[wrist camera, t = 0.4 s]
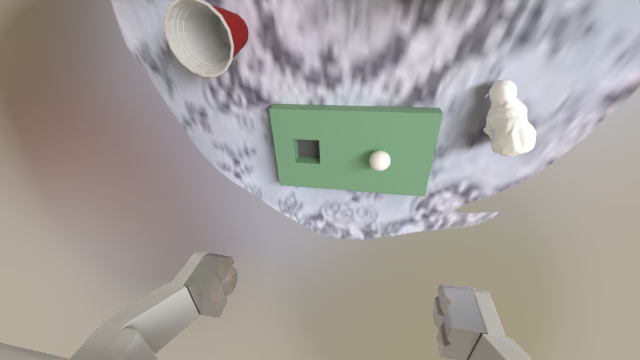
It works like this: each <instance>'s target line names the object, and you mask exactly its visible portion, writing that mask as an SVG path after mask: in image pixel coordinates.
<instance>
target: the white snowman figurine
mask: <svg viewBox="0 0 640 360" xmlns="http://www.w3.org/2000/svg"><path fill="white" fill-rule="evenodd" d="M517 88H518V87H517ZM517 88H516V86H515V84H514V83H513V82H511V81H509V80H499V81H497V82H496V83H494V84H493V86H492V87H491V89H490V91H489V93H488V94H487V95H486V96H485V97H486V98H487V97H488V95H489V97H490V100H491V103H492V105H491V107H490V109H489V111H488V115H487V117H486V127H485V128H484V129H483V131H484V132H485V133H486V134H488V135H489V136H490V139H491V140H492V141H491V142H492V143H491V148H492V150H493V152H494V153H498V154H500V155H503V156H514V155H518V154H523V153H526V152H528V151H530V150H532V149H533V148H534V146H535V142H536V139H535V137H536V131H535V129H534V128H533V126H532V125H531V124H530V123H529V122H528V121H527V108H526V106H525V105H524V104H523V103H521V102H520V100H518V99H517V98H516V95H517ZM485 97H484V98H485ZM486 98H485V99H486Z"/></svg>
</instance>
